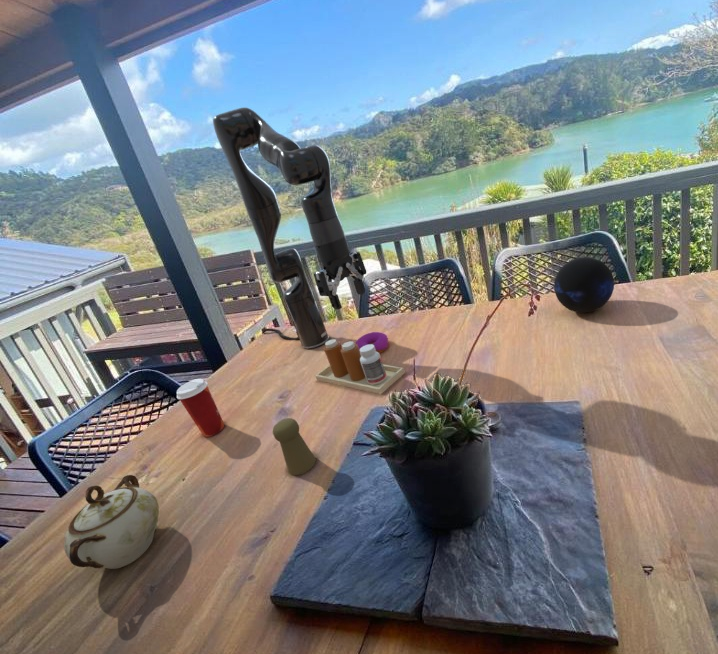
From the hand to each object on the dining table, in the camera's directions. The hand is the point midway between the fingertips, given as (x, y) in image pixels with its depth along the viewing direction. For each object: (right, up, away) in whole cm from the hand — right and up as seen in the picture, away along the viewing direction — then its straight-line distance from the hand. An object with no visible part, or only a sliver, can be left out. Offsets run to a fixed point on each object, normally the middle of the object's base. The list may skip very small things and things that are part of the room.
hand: (350, 301), depth 108 cm
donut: (+4, -14, +26) cm, 29 cm away
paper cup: (-37, -34, +7) cm, 51 cm away
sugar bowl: (-38, -49, -25) cm, 67 cm away
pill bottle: (+6, -21, +7) cm, 23 cm away
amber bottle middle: (+1, -20, +12) cm, 23 cm away
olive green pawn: (-8, -36, -16) cm, 40 cm away
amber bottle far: (-4, -20, +16) cm, 26 cm away
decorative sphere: (+64, -2, +13) cm, 66 cm away
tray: (+1, -20, +12) cm, 24 cm away
